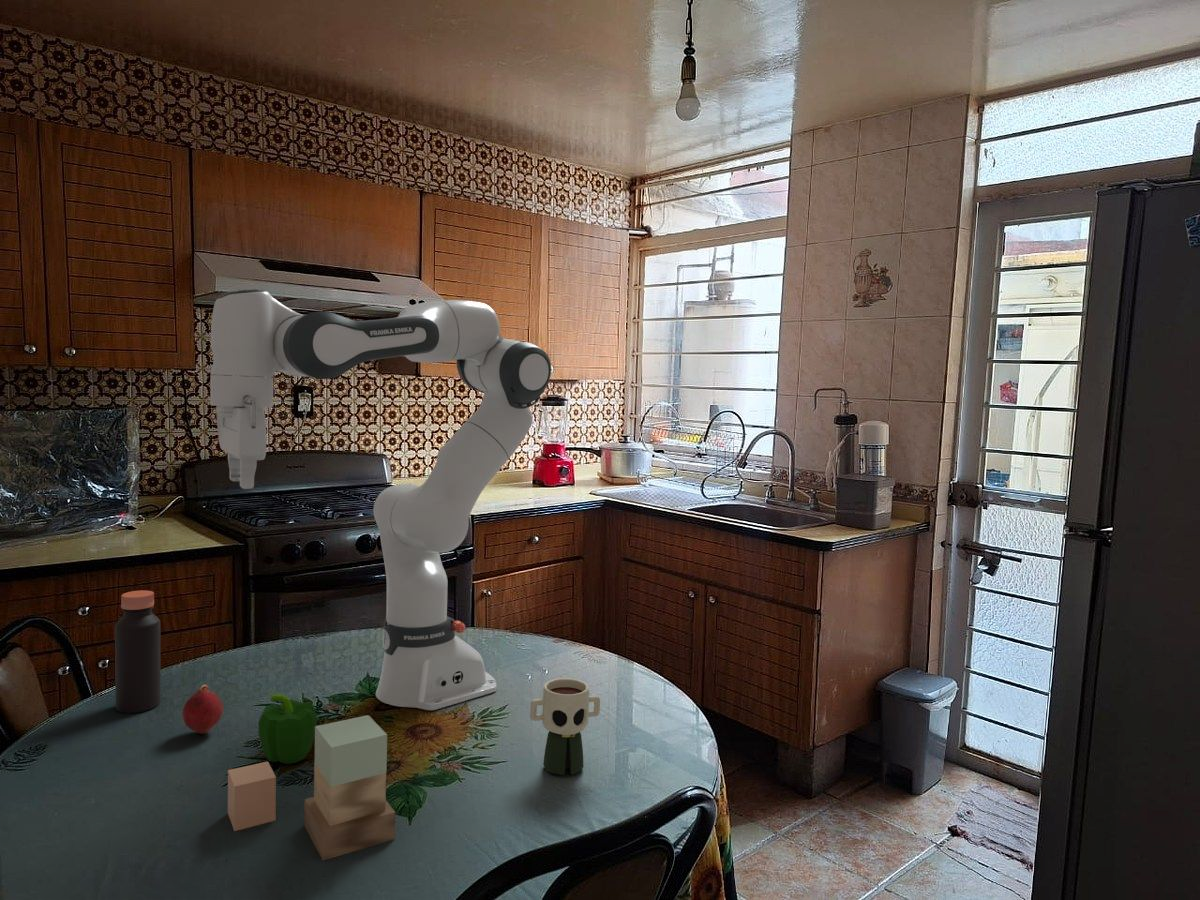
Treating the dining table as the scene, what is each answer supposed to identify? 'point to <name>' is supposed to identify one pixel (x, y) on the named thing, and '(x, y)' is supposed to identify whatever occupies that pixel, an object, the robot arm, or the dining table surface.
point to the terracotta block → (251, 795)
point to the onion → (202, 710)
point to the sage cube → (350, 750)
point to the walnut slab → (347, 831)
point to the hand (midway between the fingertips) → (241, 484)
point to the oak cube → (349, 797)
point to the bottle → (137, 654)
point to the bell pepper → (287, 730)
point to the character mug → (564, 722)
